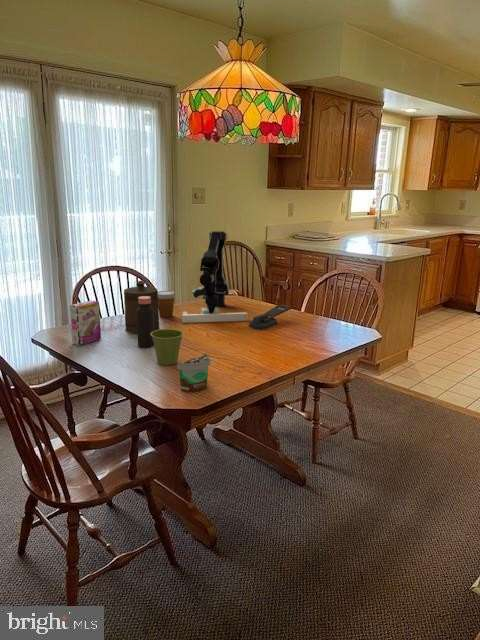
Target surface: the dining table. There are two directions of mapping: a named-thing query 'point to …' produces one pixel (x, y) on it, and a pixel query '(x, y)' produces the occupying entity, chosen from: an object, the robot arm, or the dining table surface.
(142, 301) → the bottle
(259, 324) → the dark grey elongated piece
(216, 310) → the cabinet block
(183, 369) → the food container
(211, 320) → the cleat board
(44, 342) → the dining table surface
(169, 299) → the disposable coffee cup
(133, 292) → the wooden container
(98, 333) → the candy bar box
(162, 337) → the plant pot
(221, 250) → the robot arm
